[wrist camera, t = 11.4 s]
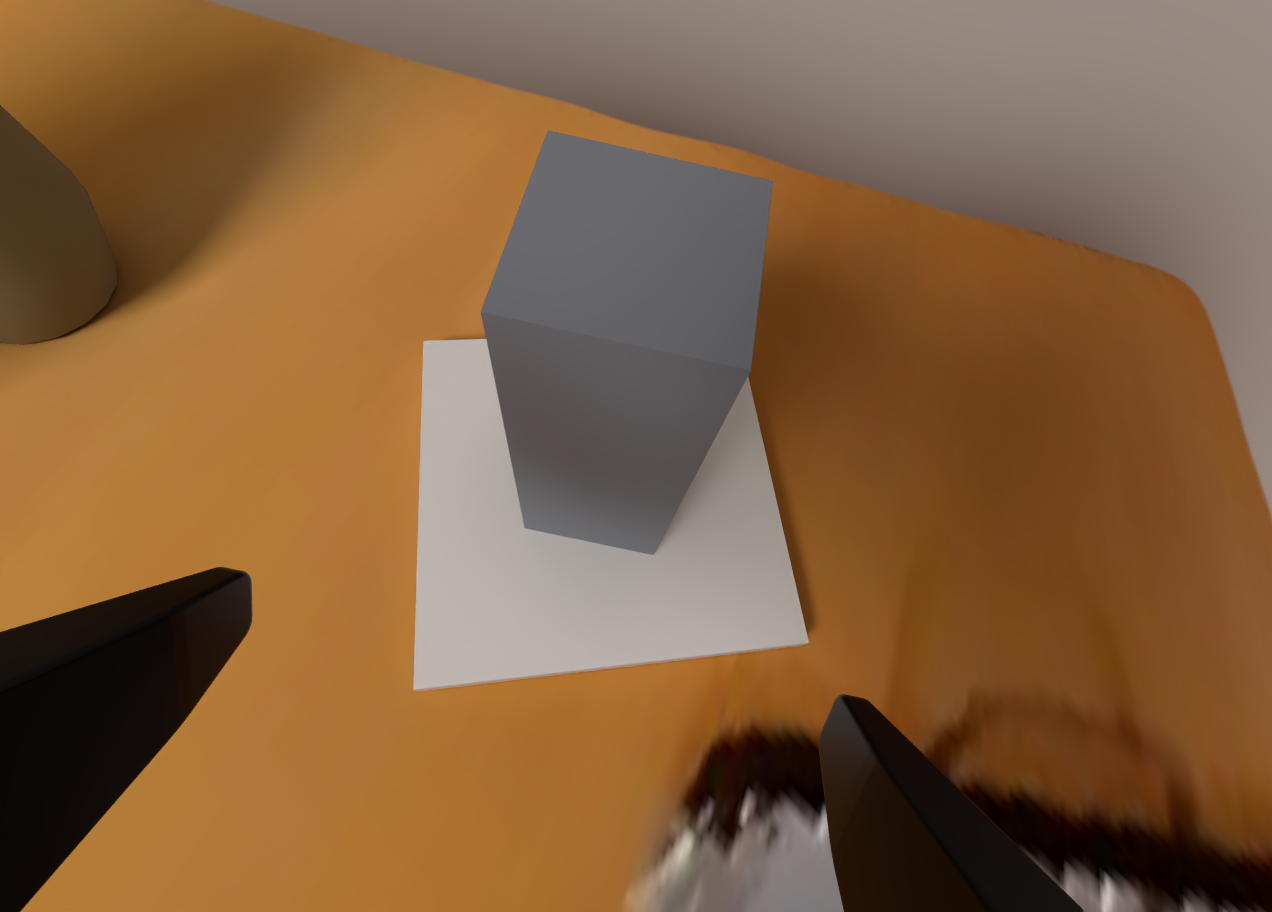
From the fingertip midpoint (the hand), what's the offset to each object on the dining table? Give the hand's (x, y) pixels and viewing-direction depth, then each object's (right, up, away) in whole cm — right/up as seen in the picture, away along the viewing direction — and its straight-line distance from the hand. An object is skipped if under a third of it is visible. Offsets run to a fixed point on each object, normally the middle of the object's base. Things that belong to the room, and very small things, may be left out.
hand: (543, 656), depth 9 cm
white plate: (0, +2, +16) cm, 16 cm away
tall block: (0, +2, +15) cm, 15 cm away
